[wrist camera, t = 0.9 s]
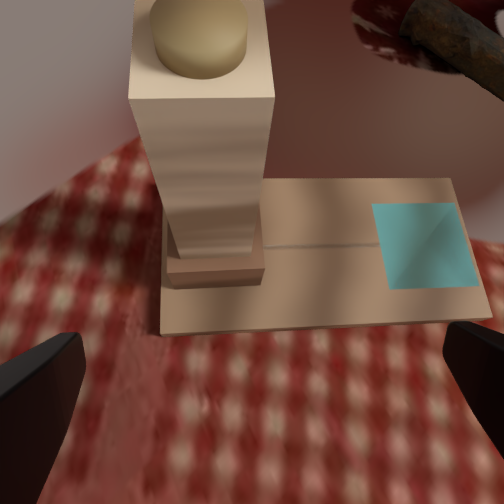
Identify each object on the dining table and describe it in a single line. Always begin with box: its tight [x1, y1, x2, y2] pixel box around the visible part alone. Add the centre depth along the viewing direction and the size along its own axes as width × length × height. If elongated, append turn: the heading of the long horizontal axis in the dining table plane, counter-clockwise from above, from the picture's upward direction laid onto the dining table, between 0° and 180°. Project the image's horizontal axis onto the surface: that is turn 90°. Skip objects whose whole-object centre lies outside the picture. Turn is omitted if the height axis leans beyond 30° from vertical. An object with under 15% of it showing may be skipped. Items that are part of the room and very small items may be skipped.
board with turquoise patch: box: [160, 178, 493, 337], centre depth 24 cm, size 20×10×1 cm, turn 94°
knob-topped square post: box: [128, 0, 275, 290], centre depth 16 cm, size 5×5×15 cm
